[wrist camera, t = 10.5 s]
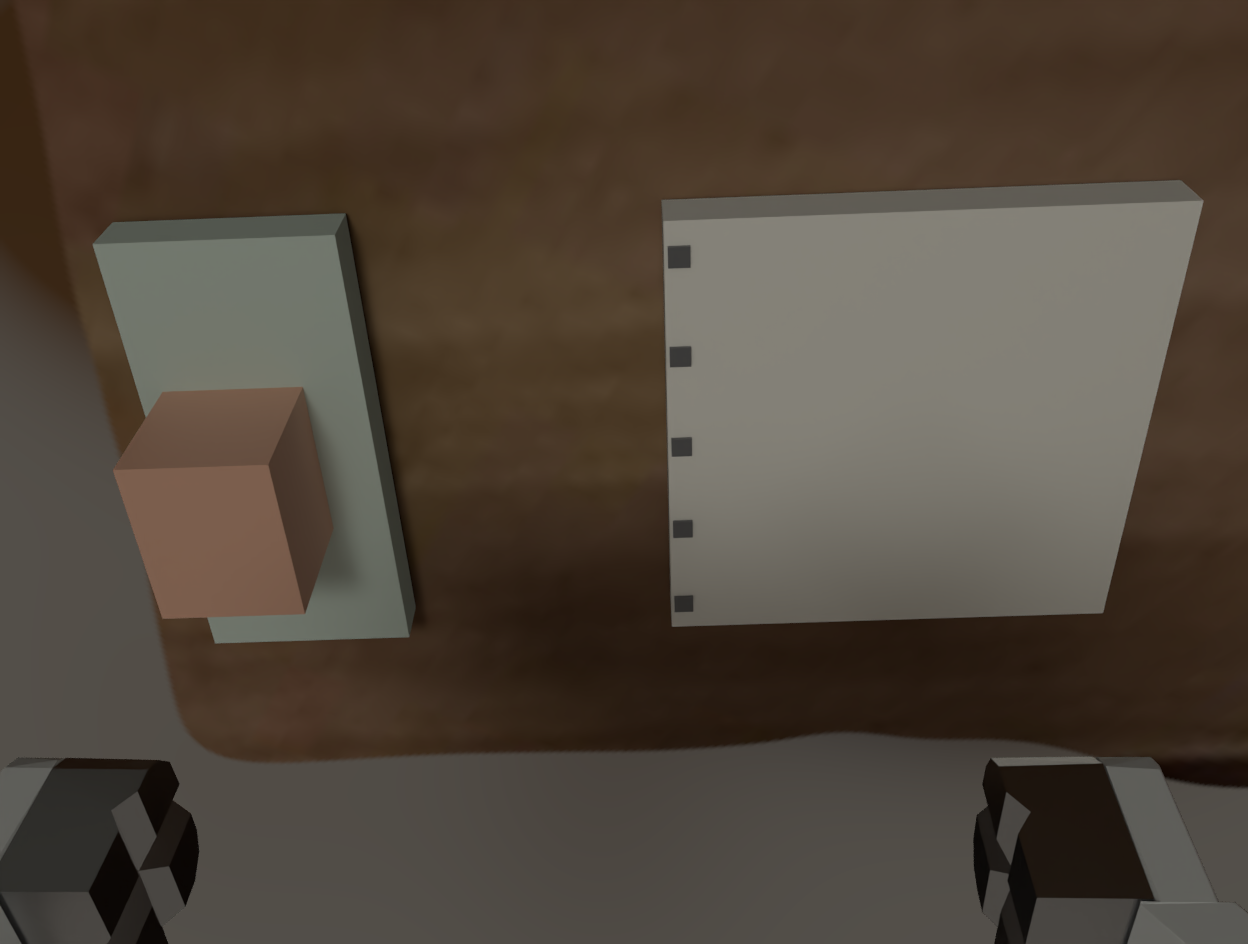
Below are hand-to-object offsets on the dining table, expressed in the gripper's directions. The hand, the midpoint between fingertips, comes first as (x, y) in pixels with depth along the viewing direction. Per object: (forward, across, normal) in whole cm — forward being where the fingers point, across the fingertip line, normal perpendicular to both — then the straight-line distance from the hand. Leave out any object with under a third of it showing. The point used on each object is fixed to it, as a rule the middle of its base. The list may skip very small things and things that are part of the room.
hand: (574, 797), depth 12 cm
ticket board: (+23, -7, +10) cm, 26 cm away
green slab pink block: (+22, +11, +10) cm, 27 cm away
